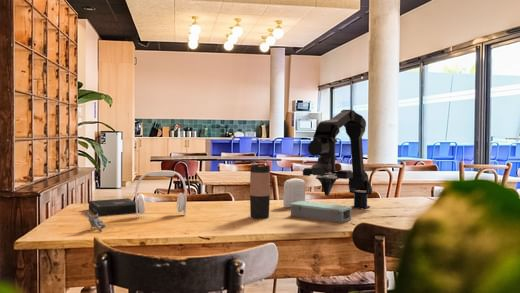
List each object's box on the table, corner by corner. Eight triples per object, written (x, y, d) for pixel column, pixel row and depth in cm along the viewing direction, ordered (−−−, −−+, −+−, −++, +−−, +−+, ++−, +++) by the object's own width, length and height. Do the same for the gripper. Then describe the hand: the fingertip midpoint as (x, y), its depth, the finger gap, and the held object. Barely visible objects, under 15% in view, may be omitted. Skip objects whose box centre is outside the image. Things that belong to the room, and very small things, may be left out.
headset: (185, 213, 191) (185, 169, 190) (188, 216, 184) (188, 170, 183) (134, 216, 185) (133, 170, 184) (135, 219, 178) (135, 171, 177)
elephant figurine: (117, 228, 163) (104, 224, 155) (104, 241, 163) (91, 237, 154) (100, 208, 167) (87, 203, 158) (87, 220, 166) (74, 215, 158)
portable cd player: (141, 213, 192) (141, 203, 192) (97, 217, 183) (97, 207, 183) (129, 207, 206) (129, 198, 206) (88, 210, 197) (88, 201, 197)
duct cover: (300, 205, 195) (301, 200, 195) (351, 211, 182) (352, 206, 182) (289, 208, 187) (289, 203, 187) (341, 215, 174) (341, 210, 174)
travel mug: (255, 219, 179) (255, 166, 179) (246, 216, 186) (246, 165, 185) (273, 218, 183) (273, 166, 182) (263, 214, 190) (264, 164, 189)
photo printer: (300, 204, 214) (300, 177, 213) (306, 206, 210) (306, 178, 210) (281, 206, 208) (282, 178, 208) (287, 208, 205) (288, 179, 204)
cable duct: (301, 212, 195) (301, 203, 194) (351, 219, 182) (351, 209, 182) (290, 215, 188) (290, 205, 188) (341, 222, 175) (342, 212, 175)
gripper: (295, 154, 180) (294, 195, 181) (339, 157, 169) (339, 200, 169) (310, 153, 189) (309, 192, 190) (353, 155, 178) (353, 197, 178)
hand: (326, 195), depth 181 cm, fingers closed
